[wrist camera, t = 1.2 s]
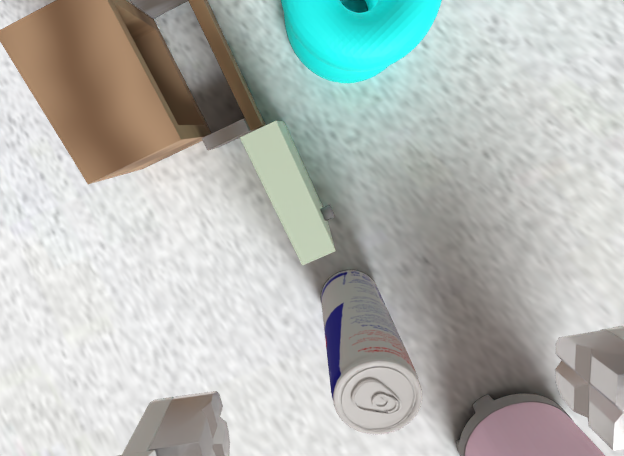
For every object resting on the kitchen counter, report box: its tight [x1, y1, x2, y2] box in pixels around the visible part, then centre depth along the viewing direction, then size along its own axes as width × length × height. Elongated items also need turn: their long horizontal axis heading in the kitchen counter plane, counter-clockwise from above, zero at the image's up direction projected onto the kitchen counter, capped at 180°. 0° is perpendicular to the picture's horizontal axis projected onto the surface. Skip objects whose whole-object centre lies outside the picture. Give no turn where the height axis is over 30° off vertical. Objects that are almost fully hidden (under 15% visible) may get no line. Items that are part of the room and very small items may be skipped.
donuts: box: [281, 0, 442, 83], centre depth 27 cm, size 10×10×10 cm
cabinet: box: [0, 0, 265, 184], centre depth 28 cm, size 12×12×9 cm
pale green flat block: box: [240, 121, 336, 266], centre depth 29 cm, size 3×9×11 cm, turn 24°
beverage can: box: [321, 270, 422, 434], centre depth 31 cm, size 6×6×15 cm
